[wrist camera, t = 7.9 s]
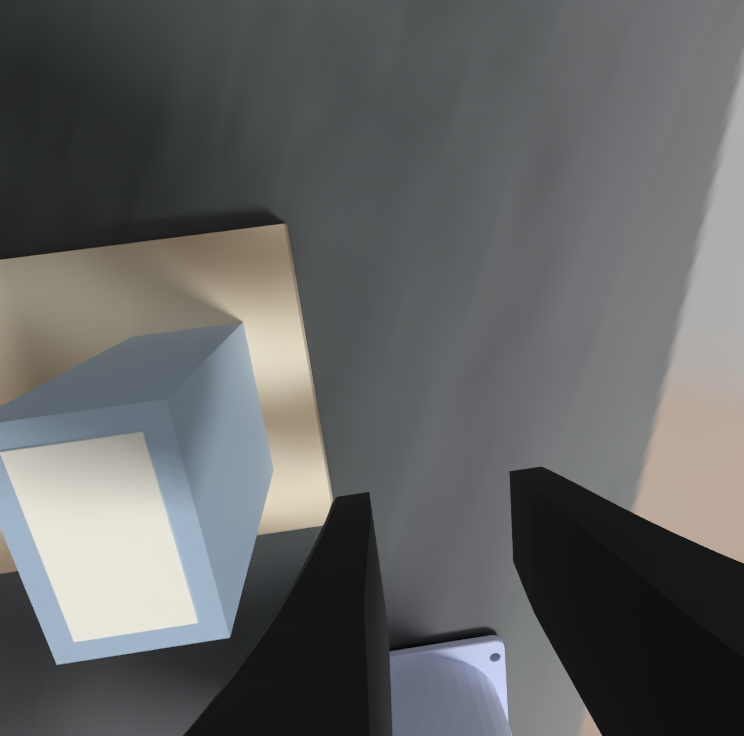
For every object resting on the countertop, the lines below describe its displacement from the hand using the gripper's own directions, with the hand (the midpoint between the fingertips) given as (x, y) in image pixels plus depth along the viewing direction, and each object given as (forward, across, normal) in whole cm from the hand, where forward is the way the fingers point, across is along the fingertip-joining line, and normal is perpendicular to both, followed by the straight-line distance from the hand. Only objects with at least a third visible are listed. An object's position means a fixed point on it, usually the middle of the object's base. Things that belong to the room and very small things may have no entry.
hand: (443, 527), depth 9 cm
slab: (+9, +7, 0) cm, 12 cm away
